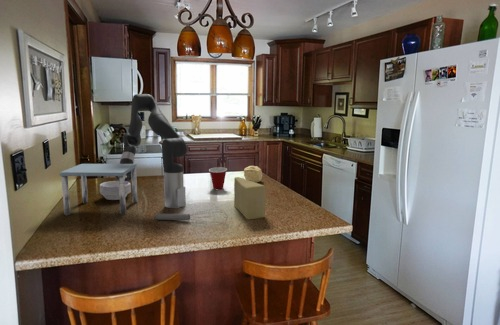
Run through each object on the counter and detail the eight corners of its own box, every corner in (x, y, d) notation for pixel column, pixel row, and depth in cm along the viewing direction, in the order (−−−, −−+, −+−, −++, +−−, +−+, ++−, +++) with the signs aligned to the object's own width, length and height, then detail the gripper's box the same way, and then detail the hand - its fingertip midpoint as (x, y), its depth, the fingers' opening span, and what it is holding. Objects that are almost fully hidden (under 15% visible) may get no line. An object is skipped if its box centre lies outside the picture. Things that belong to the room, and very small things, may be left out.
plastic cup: (205, 189, 201) (205, 169, 199) (215, 185, 211) (215, 166, 209) (220, 191, 196) (220, 171, 194) (230, 187, 206) (230, 168, 204)
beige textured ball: (242, 183, 219) (242, 166, 217) (247, 179, 230) (247, 163, 228) (259, 184, 216) (259, 167, 214) (264, 180, 227) (264, 164, 225)
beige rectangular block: (226, 206, 168) (226, 177, 165) (244, 204, 172) (244, 175, 170) (246, 220, 148) (246, 187, 146) (265, 217, 153) (266, 184, 150)
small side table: (84, 201, 173) (81, 163, 170) (138, 201, 175) (136, 163, 172) (63, 215, 152) (59, 172, 148) (124, 215, 153) (122, 172, 150)
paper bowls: (135, 194, 188) (135, 180, 186) (123, 202, 173) (122, 187, 171) (109, 193, 189) (108, 179, 188) (94, 201, 174) (93, 186, 173)
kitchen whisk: (155, 217, 152) (155, 203, 151) (229, 223, 146) (229, 208, 145) (149, 221, 146) (148, 207, 145) (226, 228, 140) (226, 213, 139)
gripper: (113, 157, 196) (107, 183, 186) (137, 157, 197) (131, 183, 187) (117, 165, 202) (111, 190, 192) (139, 165, 203) (135, 190, 193)
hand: (121, 186), depth 190 cm, fingers closed
